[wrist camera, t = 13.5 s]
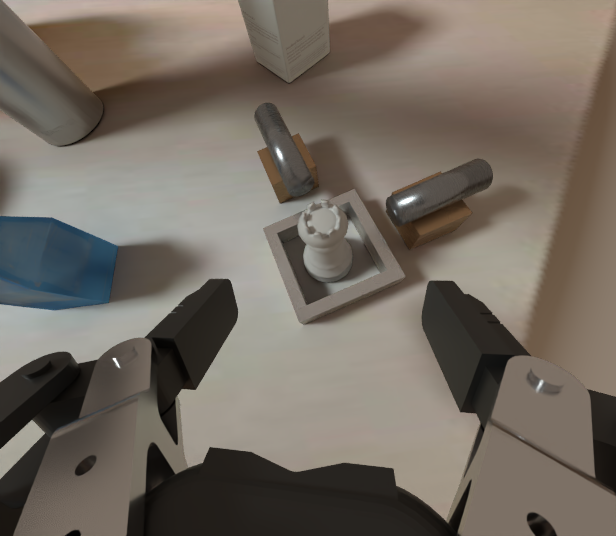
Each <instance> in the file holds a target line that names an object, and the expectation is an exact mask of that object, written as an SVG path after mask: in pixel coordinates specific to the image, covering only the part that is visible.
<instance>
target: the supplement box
mask: <svg viewBox="0 0 616 536" xmlns="http://www.w3.org/2000/svg"><path fill="white" fill-rule="evenodd" d="M238 2H239V5H240V8H241V11H242V15H243V18H244V21H245V25H246V28H247V31H248V35H249V38H250V42H251V45H252V48H253V52H254V55H255V58H256V61H257V62H259V63H260V64H262V65H263V66H265V67H266V68H268V69H269V70H270V71H272V72H273V73H275V74H276V75H278V76H279V77H281V78H282V79H283V80H285V81H286V82H288V83H290V82H292V81H293V80H294V79H296V78H297V77H298V76H300V75H301V74H302V73H304V72H305V71H306V70H308V69H309V68H310V67H312V66H313V65H314V64H316V63H317V62H318V61H319V60H321V59H322V58H324V57H325V56H326V55H327V54H328V53H329V52H330V38H329V15H328V0H238Z"/></svg>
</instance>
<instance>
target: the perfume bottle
mask: <svg viewBox="0 0 616 536" xmlns="http://www.w3.org/2000/svg"><path fill="white" fill-rule="evenodd" d="M117 250H118V246H116V245H114V244H112V243H109V242H107V241H105V240H103V239H100V238H98V237H96V236H93V235H91V234H89V233H86V232H84V231H82V230H79V229H77V228H75V227H73V226H70V225H68V224H66V223H63V222H61V221H59V220H56V219H54V218H47V217H9V216H0V304H4V305H12V306H21V307H30V308H39V309H48V310H59V309H67V308H74V307H81V306H89V305H96V304H104V303H109V298H110V292H111V286H112V280H113V274H114V268H115V262H116V256H117Z"/></svg>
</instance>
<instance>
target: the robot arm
mask: <svg viewBox="0 0 616 536" xmlns="http://www.w3.org/2000/svg"><path fill="white" fill-rule="evenodd" d="M0 110H1V111H2V112H4V113H5V114H7V115H8V116H10V117H11V118H12V119H14V120H15V121H17V122H18V123H20V124H21V125H23V126H24V127H26V128H27V129H29V130H30V131H31V132H33V133H34V134H36V135H37V136H39V137H40V138H42V139H43V140H45V141H46V142H48V143H49V144H51V145H55V146H62V145H67V144H71V143H73V142H76V141H78V140H80V139H81V138H83V137H84V136H86V135H87V134H88V133H89V132H90V131H92V130H93V129H94V127H95V126H96V125H97V124H98V122H99V120H100V119H101V116H102V114H103V104H102V102H101V100H100V99H99V98H98V97H97V96H96V95H95V94H94V93H93V92H92V91H91V90H90V89H89V88H88V87H87V86H86V85H85V84H84V83H83V82H82V81H81V80H80V79H79V78H78V77H77V76H76V75H75V74H74V73H73V72H72V71H71V70H70V68H69V67H68V66H67V65H66V64H65V63H64V62H63V61H62V60H61V59H60V58H59V57H58V56H57V55H56V54H55V53H54V52H53V51H52V50H51V49H50V48H49V47H48V46H47V45H46V44H45V43H44V42H43V41H42V40H41V39H40V38H39V37H38V36H37V35H36V34H35V33H34V32H33V31H32V30H31V29H30V28H29V27H28V26H27V25H26V24H25V23H24V22H23V21H22V20H21V19H20V18H19V17H18V16H17V15H16V14H15V13H14V12H13V11H12V10H11V9H10V8H9V7H8V6H7V5H6V4H5V3H4V2H3V1H2V0H0ZM237 318H238V308H237V304H236V300H235V296H234V292H233V288H232V284H231V281H230V280H229V279H209V280H208V281H207V282H206V283H205V284H204V285H203V286H202V287H201V288H200V289H199V290H197V291H196V292H194V293H192V294H191V295H189V296H187V297H186V298H185V299H184V300H183V301H182V302H181V303H180V304H179V305H178V307H176V308H175V309H174V310H172V311H171V313H169V314H168V315H167V316H166V317H165V318H164V319H163V320H162V321H161V322H160V323H159V324H158V325H157V326H156V327H155V328H154V329H153V330H152V331H151V332H150V333H149V334H148V335H147V336H146V337H145V338H134V339H130V340H127V341H124V342H122V343H120V344H117V345H116V346H114V347H112V348H111V349H109V350H108V351H107V352H105V353H104V354H103V355H102V356H101V357H100V358H99V359H98V360H94V361H89V362H84V363H79V364H77V362H76V361H75V360H74V358H73V357H72V355H71V354H70V353H68V352H56V353H52V354H48V355H45V356H43V357H40V358H38V359H36V360H34V361H32V362H30V363H28V364H26V365H24V366H23V367H21V368H20V369H18V370H17V371H15V372H14V373H13V374H11V375H10V376H8V377H7V378H6V379H4V380H3V381H2V382H0V449H1V448H2V447H3V446H4V445H5V444H6V443H7V442H8V441H9V440H10V439H12V438H13V437H14V436H15V435H16V434H17V433H18V432H19V431H20V430H21V429H22V428H23V427H24V426H26V425H27V424H28V423H29V422H30V421H31V420H33V421H34V422H35V423H36V424H37V425H38V426H39V427H40V428H41V429H42V430H43V431H44V432H45V434H44V435H43V436H42V437H41V438H40V439H39V440H38V441H37V442H36V443H35V444H34V445H33V446H32V447H31V448H30V450H29V451H28V452H27V453H26V454H25V455H24V456H23V457H22V458H21V459H20V460H19V461H18V462H17V463H16V464H15V465H14V466H13V467H12V468H11V469H10V470H9V471H8V472H7V473H6V474H5V475H4V476H3V477H2V478H1V479H0V536H616V397H614V396H611V395H607V394H603V393H599V392H596V391H592V390H588V389H586V388H585V386H584V385H583V384H582V383H581V382H580V381H579V380H578V379H577V378H576V377H575V376H573V375H572V374H571V373H569V372H568V371H566V370H565V369H563V368H561V367H559V366H557V365H555V364H553V363H551V362H549V361H546V360H543V359H540V358H536V357H532V356H531V355H530V354H529V353H528V352H527V351H526V350H525V349H524V348H523V346H522V345H521V344H520V343H519V342H518V341H517V340H516V339H515V338H514V336H513V335H512V334H511V333H510V332H509V331H508V330H507V329H506V328H505V327H504V325H503V324H500V321H499V320H498V319H497V318H496V317H495V315H492V312H491V311H490V310H489V309H488V308H487V307H486V306H485V304H484V303H483V302H481V301H479V300H478V299H476V298H474V297H473V296H471V295H469V294H464V293H463V292H462V291H461V290H460V288H459V287H458V286H457V285H456V284H455V282H453V281H429V283H428V285H427V290H426V295H425V301H424V306H423V311H422V326H423V329H424V332H425V334H426V336H427V339H428V341H429V343H430V345H431V348H432V350H433V352H434V354H435V357H436V359H437V361H438V363H439V365H440V368H441V370H442V372H443V374H444V377H445V379H446V381H447V383H448V386H449V388H450V390H451V392H452V395H453V397H454V399H455V401H456V404H457V406H458V408H459V410H460V412H465V413H476V414H477V416H478V418H479V420H480V425H479V427H478V429H477V432H476V435H475V439H474V442H473V445H472V448H471V451H470V454H469V457H468V460H467V463H466V466H465V469H464V472H463V475H462V479H461V482H460V485H459V487H458V490H457V493H456V495H455V498H454V500H453V503H452V506H451V508H450V511H449V514H448V517H447V520H446V521H445V520H444V519H443V518H442V517H441V516H440V515H439V514H438V513H437V512H436V511H434V510H433V509H432V508H431V507H430V506H429V505H427V504H426V503H425V502H423V501H422V500H421V499H419V498H418V497H416V496H415V495H413V494H411V493H410V492H408V491H406V490H405V489H402V488H400V487H398V486H396V482H395V476H394V470H393V468H385V467H376V466H367V465H359V464H350V463H341V464H336V465H331V466H326V467H321V468H316V469H311V470H306V471H301V472H292V471H289V470H287V469H285V468H283V467H281V466H279V465H277V464H275V463H273V462H271V461H269V460H267V459H264V458H262V457H260V456H258V455H256V454H254V453H252V452H246V451H238V450H229V449H220V448H212V447H210V448H209V450H208V452H207V455H206V457H205V459H204V462H203V463H201V464H198V465H195V466H192V467H189V468H188V466H187V462H186V459H185V455H184V448H183V436H182V424H181V413H180V402H179V398H178V396H177V395H178V394H179V392H180V391H181V389H190V390H196V388H197V387H198V385H199V383H200V382H201V380H202V378H203V377H204V375H205V373H206V372H207V370H208V368H209V367H210V365H211V363H212V362H213V360H214V358H215V357H216V355H217V353H218V352H219V350H220V348H221V347H222V345H223V343H224V342H225V340H226V338H227V337H228V335H229V333H230V332H231V330H232V328H233V327H234V325H235V323H236V321H237Z"/></svg>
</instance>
